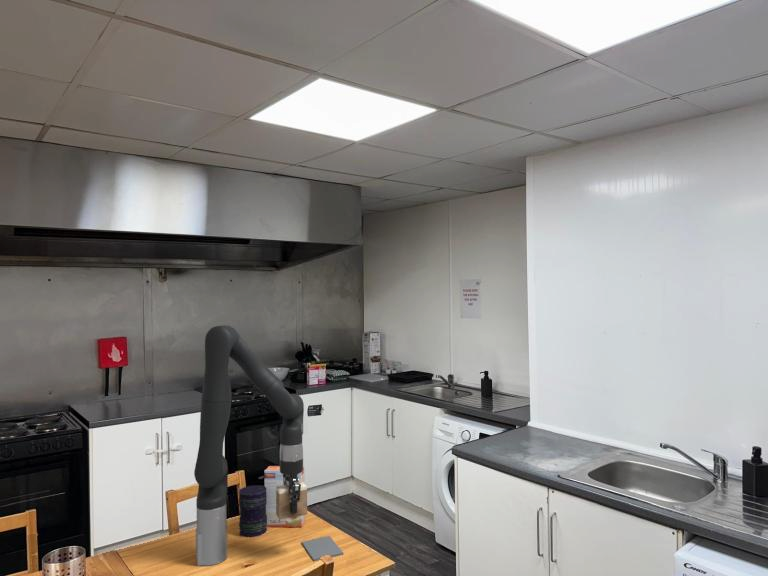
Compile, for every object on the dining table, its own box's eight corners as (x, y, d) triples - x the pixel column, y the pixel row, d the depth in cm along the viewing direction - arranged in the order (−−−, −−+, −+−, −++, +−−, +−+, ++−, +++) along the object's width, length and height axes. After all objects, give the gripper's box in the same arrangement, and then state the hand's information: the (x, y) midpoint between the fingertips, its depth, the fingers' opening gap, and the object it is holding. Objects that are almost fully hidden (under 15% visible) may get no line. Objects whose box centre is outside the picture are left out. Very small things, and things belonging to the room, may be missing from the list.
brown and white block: (279, 519, 164) (279, 490, 164) (276, 514, 168) (276, 486, 169) (307, 514, 168) (307, 486, 168) (303, 509, 172) (303, 482, 172)
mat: (313, 561, 165) (313, 559, 165) (301, 543, 177) (301, 541, 177) (343, 554, 169) (343, 552, 169) (329, 537, 182) (329, 535, 182)
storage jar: (239, 527, 191) (238, 486, 192) (266, 524, 194) (266, 483, 195) (239, 539, 182) (238, 496, 182) (267, 535, 184) (267, 492, 185)
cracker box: (305, 521, 196) (305, 465, 197) (301, 528, 190) (300, 470, 191) (269, 520, 197) (269, 464, 198) (264, 527, 191) (263, 469, 192)
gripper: (274, 453, 174) (275, 505, 173) (285, 464, 161) (285, 520, 160) (296, 450, 177) (297, 501, 176) (308, 461, 164) (309, 516, 163)
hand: (291, 510), depth 168 cm, fingers closed on brown and white block, 4 cm apart
